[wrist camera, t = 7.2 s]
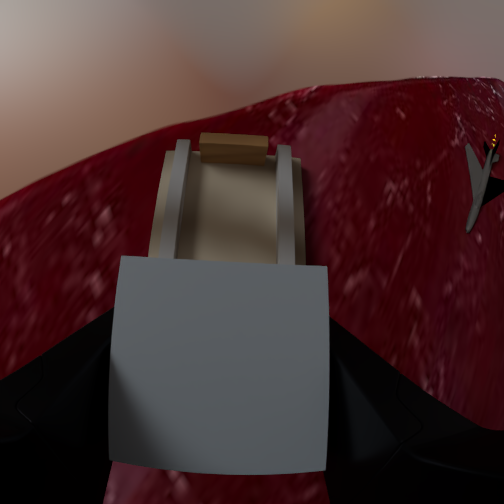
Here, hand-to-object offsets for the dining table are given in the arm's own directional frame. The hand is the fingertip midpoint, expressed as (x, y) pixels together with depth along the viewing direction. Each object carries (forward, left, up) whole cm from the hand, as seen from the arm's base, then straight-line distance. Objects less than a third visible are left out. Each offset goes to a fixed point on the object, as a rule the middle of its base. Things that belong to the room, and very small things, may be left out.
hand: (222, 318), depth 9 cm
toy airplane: (+3, -34, -14) cm, 37 cm away
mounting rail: (+7, -3, -13) cm, 15 cm away
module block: (-1, +1, -7) cm, 7 cm away
